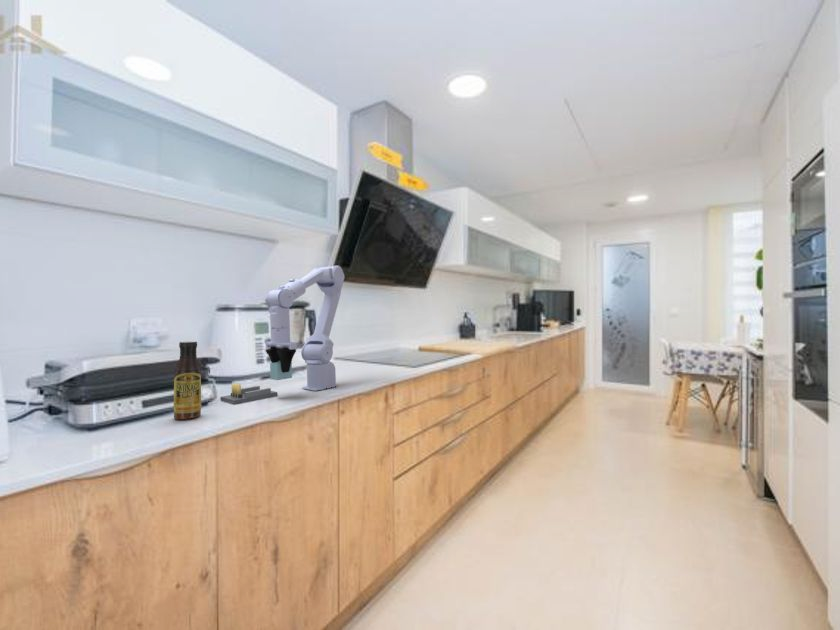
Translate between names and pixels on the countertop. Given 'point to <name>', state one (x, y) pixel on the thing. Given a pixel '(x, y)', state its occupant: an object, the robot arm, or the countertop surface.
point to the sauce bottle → (187, 383)
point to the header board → (247, 394)
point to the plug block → (279, 371)
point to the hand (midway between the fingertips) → (281, 371)
